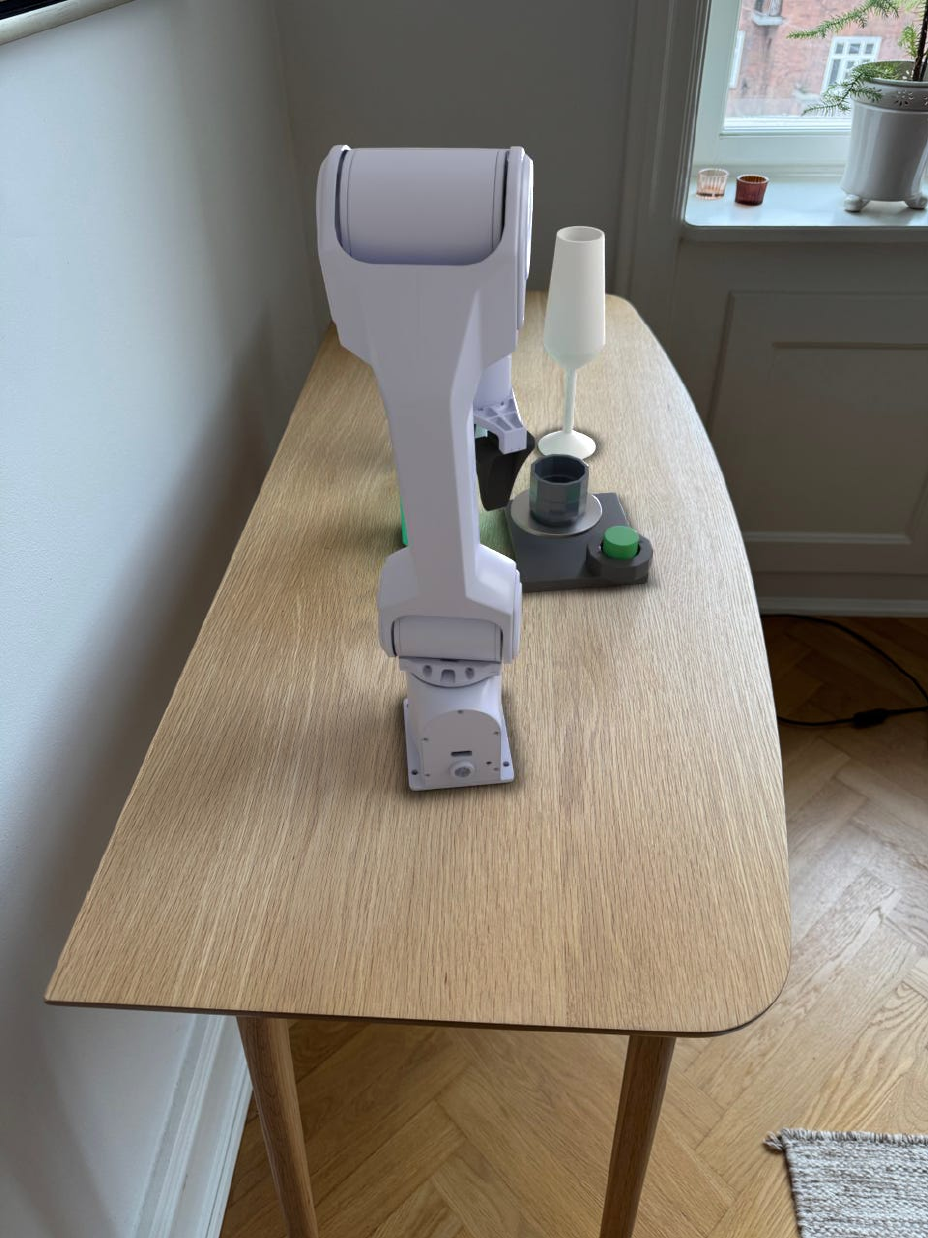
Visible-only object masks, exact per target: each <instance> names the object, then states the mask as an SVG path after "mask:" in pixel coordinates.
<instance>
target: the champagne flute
mask: <svg viewBox="0 0 928 1238" xmlns="http://www.w3.org/2000/svg"><path fill="white" fill-rule="evenodd" d="M605 249H606V248H605V232H604V231H603V230H601V229H599V228H597V227H592V226H585V225H576V226H567V227H563V228H561V229H559V230H558V231H556V237H555V244H554V252H553V258H552V264H551V265H552V267H551V274H550V280H549V286H548V287H549V288H548V295H547V302H546V310H545V318H544V322H543V323H544V324H543V332H542V344H543V346H544V349H545V351H546V352H547V354H548V355H549V356H550V358H551V359H552V360H553V361H555V362H556V363H557V364H558V365H559V366H560V367H561V368H563V369H565V385H564V402H563V418H562V419H563V420H562V430H557V431H554V432H551V433H548V434H547V435H543V437H541V438H540V439H539V441H538V443H537V447H538V450H539V451H540V453H542V455H543V456H546V455H550V454H567V455H571V456H574V457H577V458H580V459H582V460H584V459H586V458H588V457H590V456H591V455H593V454H594V452H595V450H596V443H595V441H594V440H593V439H592V438H590V437H589V436H587V435H585V434H583V433H580V432H577V431H575V430H574V418H575V404H576V390H577V376H578V370H580V369H582V368H583V367H585V366H586V365H587V364H589V363H590V362H592V361H593V360H594V359H596V357H597V356H599V354H600V353H601V351H602V349H603V348H604V346H605V343H606V273H605V272H606V270H605V269H606V267H605V266H606V265H605V263H606V261H605V260H606V259H605V253H606V252H605V251H606V250H605Z"/></svg>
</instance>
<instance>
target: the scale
mask: <svg viewBox="0 0 928 1238" xmlns="http://www.w3.org/2000/svg"><path fill="white" fill-rule="evenodd" d="M591 494H592V495H593V496H594V497H596V498H597V500H598V501H599V503H600V505H601V508H602V515H601V519H600V521H599V523H598V524H597V526H596V527H595V528H593V529H592V530H591V531H589V532H587V533H585V534H583V535H580V536H576V537H572V538H563V539H554V538H545V537H540V536H537V535H534V534H531V533H529V532H527V531H525V530H523V529H522V528H520V527H519V526H518V525H517V524H516V523H515V521H514V520H513V518H512V515H511V505H512V502H513V500H514V499H509V502H508V505H507V506H506V507H503V512H504V516H505V521H506V524H507V528H508V532H509V538H510V542H511V546H512V551H513V555H514V559H515V563H516V568H517V571H518V572H519V573H520V583H521V584H522V593H532V592H533V593H534V592H544V591H558V590H559V591H560V590H569V589H570V590H572V589H584V588H595V587H596V588H598V587H610V586H622V585H634V584H635V585H637V584H648V581H649V575H650V572H649V571H650V569H651V567H652V563H653V557H654V552H655V551H654V547H653V545H652V543H651V541H650V539H649V538H647V537H646V536H644V535H643V534H641V533H639V532H637V531H636V532H637V534H638V536H639V539H638V547H637V553H636V555H635V556H634V557H633V558H631V559H623V560H618V559H614V558H610V557H608V556H606V555H605V553H604V552H603V543H604V534H605V532H606V530H608V529H609V528H611V527H615V526H625V527H629V528H631V526H630V523H629V521H628V519H627V516H626V514H625V511H624V509H623V507H622V504H621V501H620V500H619V497H618V494H617V492H601V493H600V492H599V493H591Z"/></svg>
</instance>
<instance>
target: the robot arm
mask: <svg viewBox="0 0 928 1238" xmlns="http://www.w3.org/2000/svg"><path fill="white" fill-rule="evenodd" d="M533 187H534V164H533V160H532V159H531V158H530V157H529V155H528V154H527V153H525V149H524V148H523V147H522V146H519V145H518V146H516V145H515V146H514V145H511V146H510V148H487V147H485V148H481V147H356V148H350V146H348V145H347V144H337V145H334V146H332V147H331V148H330V150H329V151H328V154H327V156H326V157H325V158H324V159H323V160H322V162H321V164H320V167H319V170H318V176H317V183H316V195H315V197H316V198H315V207H316V208H315V213H316V231H317V234H316V235H317V236H316V237H317V252H318V259H319V265H320V268H321V273H322V278H323V282H324V283H323V284H324V288H325V291H326V297H327V301H328V305H329V311H330V316H331V319H332V322H333V323H334V324H335V327H336V330H337V335H338V340H339V344H340V345H341V347H343V348H344V349H346V350H347V351H349V352H350V353H351V354H353V355H354V356H356V357H357V358H358V359H360V360H361V361H363V362H364V363H366V364H368V365H369V366H370V367H371V368H372V370H373V374H374V377H375V381H376V384H377V388H378V392H379V395H380V398H381V402H382V404H383V409H384V413H385V416H386V420H387V425H388V430H389V436H390V443H391V447H392V454H393V461H394V467H395V472H396V479H397V484H398V485H397V486H398V490H399V491H400V494H399V497H400V496H401V502H402V508H403V514H404V520H405V526H406V532H407V538H408V544H409V546H408V547H407V546H406V547H404V548H401V549H398V550H397V551H395V552H392V553H391V554H389V555H388V556H386V560H385V563H384V565H382V568H381V572H380V577H379V582H378V589H377V597H376V598H377V599H376V606H377V607H376V608H377V632H378V640H379V641H378V642H379V645H380V646H379V647H380V648H381V649H382V650H383V652H384V653H385V655H386V656H387V657H388V658H394V659H395V658H397V657H398V667H399V668H398V669H399V671H403V672H405V682H406V694H407V697H406V698H404V699H403V703H402V704H403V717H404V727H405V728H404V730H405V746H406V759H407V760H406V761H407V775H408V786H409V789H410V790H411V791H413V792H417V791H427V790H428V791H429V790H439V789H449V788H461V787H462V788H463V787H472V786H485V785H493V784H494V785H495V784H505V783H511V782H513V781H514V779H515V771H514V770H515V769H514V765H513V760H512V755H511V749H510V744H509V743H510V742H509V738H508V732H507V727H506V721H505V715H504V711H503V704H502V679H503V677H502V674H503V673H502V672H503V665H505V664H506V665H511V664H512V663H513V661H514V660H515V659H517V658H518V657H519V652H520V642H521V641H520V640H521V621H522V604H523V603H522V600H523V599H522V598H523V589H522V584H521V580H520V573H519V572H518V569H517V563H516V561H514V560H513V559H511V558H509V557H507V556H505V555H503V554H501V553H499V552H497V551H495V550H493V549H491V548H490V547H487V546H486V545H484V544H482V543H481V539H480V518H479V501H478V499H479V497H480V501H481V505H482V506H483V509H484V510H485V511H486V512H491V511H495V510H499V509H502V508H503V509H504V507H506V506H507V505H508V502H509V500H511V496H512V493H513V489H514V487H515V483H516V480H517V478H518V476H519V473H520V470H521V469H522V467H523V465H524V463H525V462H526V461H527V459H528V457H529V456H530V455H531V453H532V452H533V451H534V450H535V448H536V438H535V436H534V435H533V434H532V432H530V431H529V430H528V428H527V426H526V425H525V424H524V422H523V421H522V420H521V416H520V413H519V409H518V405H517V401H516V396H515V393H514V389H513V386H512V353H514V352H515V351H517V349H518V338H519V337H518V335H519V331H520V330H521V329H522V328H523V327H524V321H525V306H526V305H525V302H526V289H527V287H526V286H527V280H528V278H529V273H530V261H531V246H532V245H531V242H532V226H533V225H532V223H533V222H532V221H533V196H534V195H533V193H534V192H533ZM476 425H478V426H480V427H482V428H485V429H487V437H486V436H483V437H479V438H475V431H476ZM399 491H398V492H399ZM478 491H479V497H478Z"/></svg>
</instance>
